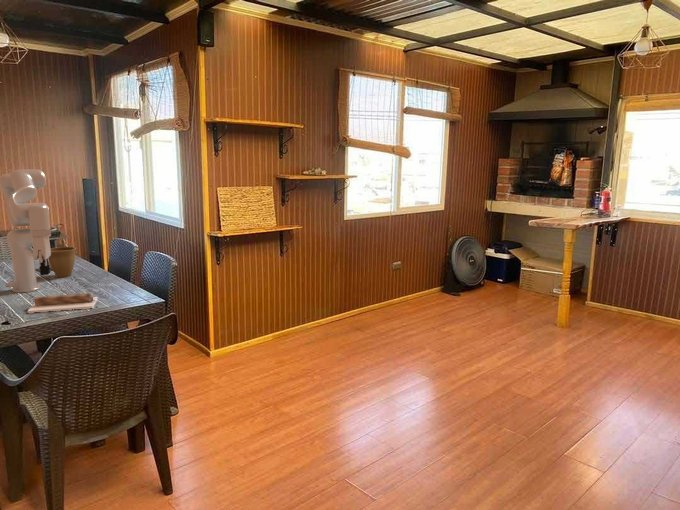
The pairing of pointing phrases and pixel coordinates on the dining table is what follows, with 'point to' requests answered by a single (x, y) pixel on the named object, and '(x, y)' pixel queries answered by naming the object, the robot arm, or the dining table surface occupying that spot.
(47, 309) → the label plate
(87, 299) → the bar
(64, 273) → the plant pot
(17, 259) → the robot arm
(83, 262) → the dining table surface
